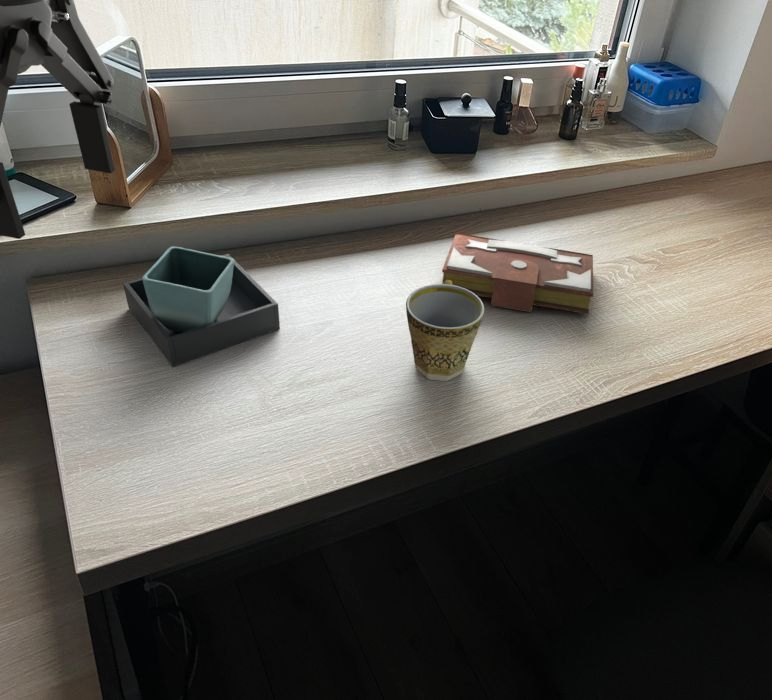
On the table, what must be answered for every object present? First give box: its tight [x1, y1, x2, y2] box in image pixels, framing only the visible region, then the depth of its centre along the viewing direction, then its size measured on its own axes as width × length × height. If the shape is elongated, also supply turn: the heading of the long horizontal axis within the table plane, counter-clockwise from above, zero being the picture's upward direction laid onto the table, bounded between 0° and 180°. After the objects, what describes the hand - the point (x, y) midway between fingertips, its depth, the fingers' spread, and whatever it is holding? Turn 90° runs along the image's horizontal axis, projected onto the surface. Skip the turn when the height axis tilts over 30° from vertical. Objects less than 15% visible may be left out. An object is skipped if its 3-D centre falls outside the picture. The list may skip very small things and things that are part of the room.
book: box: [441, 232, 594, 315], centre depth 115 cm, size 23×16×5 cm
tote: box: [122, 253, 281, 368], centre depth 100 cm, size 15×15×4 cm
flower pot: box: [141, 245, 235, 333], centre depth 96 cm, size 9×9×9 cm
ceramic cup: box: [405, 280, 485, 382], centre depth 96 cm, size 13×10×10 cm
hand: (57, 199), depth 66 cm, fingers open, 13 cm apart
